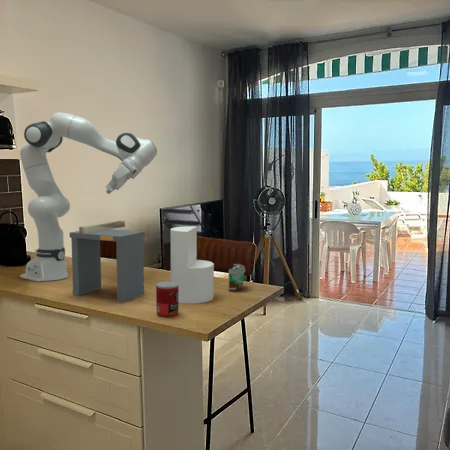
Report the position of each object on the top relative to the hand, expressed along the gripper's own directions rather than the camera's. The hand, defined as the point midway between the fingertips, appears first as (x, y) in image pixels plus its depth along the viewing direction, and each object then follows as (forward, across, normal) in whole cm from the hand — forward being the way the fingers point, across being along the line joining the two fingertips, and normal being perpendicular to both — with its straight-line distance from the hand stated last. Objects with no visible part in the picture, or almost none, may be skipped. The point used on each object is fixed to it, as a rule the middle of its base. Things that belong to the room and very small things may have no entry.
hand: (107, 190), depth 198 cm
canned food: (+23, +36, +52) cm, 68 cm away
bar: (+14, +6, +11) cm, 19 cm away
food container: (-6, +9, +71) cm, 72 cm away
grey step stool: (+32, +7, +32) cm, 46 cm away
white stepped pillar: (+11, +18, +57) cm, 61 cm away
